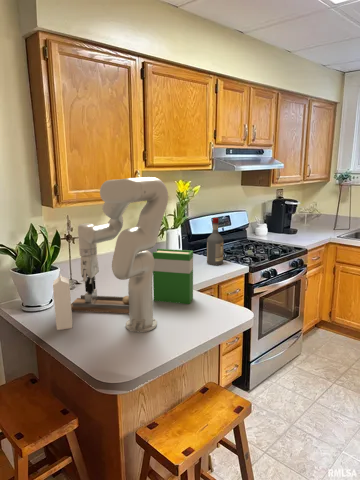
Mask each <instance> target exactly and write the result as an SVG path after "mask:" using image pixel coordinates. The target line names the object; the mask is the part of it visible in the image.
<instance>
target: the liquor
mask: <svg viewBox="0 0 360 480" xmlns="http://www.w3.org/2000/svg"><path fill="white" fill-rule="evenodd" d="M219 221H220V220H219V217H212V232H211V234H210V235H208V237H207V239H206V263H207V265H209V266H213V267H214V266H217V267H218V266H221V265H223V263H224V243H225V242H224V241H225V240H224V238H223V236H222V235H221V234H220V233H219Z"/></svg>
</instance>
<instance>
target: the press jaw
mask: <svg viewBox="0 0 360 480" xmlns="http://www.w3.org/2000/svg"><path fill="white" fill-rule="evenodd" d="M91 283H92V286H93V292H85V294H84V295H85V303H94V302H95V301H96V300H97V296H98V289H94V284H93V278H91Z"/></svg>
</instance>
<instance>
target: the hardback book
mask: <svg viewBox="0 0 360 480" xmlns="http://www.w3.org/2000/svg"><path fill="white" fill-rule="evenodd" d="M152 255H153V257H154V269H153V276H152V291H153V302H162V303H163V302H165V303H172V304H183V305H191V303H192V301H193V299H194V250H189V249H188V250H187V249H172V248H171V249H170V248H168V249H167V248H156V251H152Z"/></svg>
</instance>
